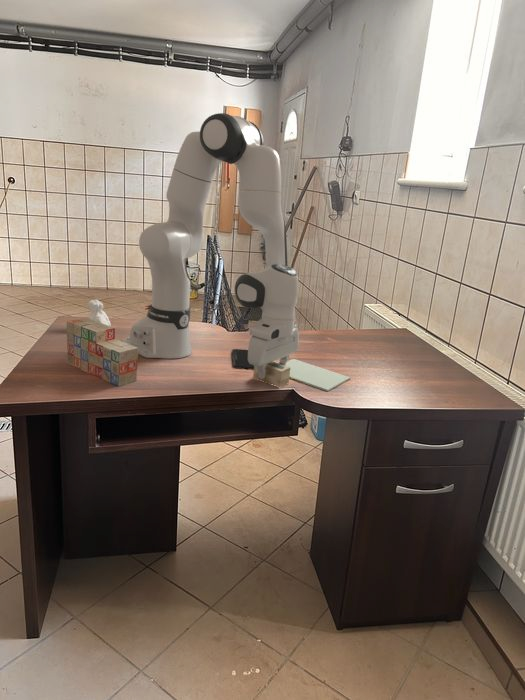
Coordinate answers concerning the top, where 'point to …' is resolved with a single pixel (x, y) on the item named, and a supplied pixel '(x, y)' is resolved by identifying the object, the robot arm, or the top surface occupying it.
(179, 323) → the robot arm
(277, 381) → the maple block
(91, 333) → the stack of blocks
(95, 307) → the bust
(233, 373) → the top surface
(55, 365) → the top surface
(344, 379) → the rubber mat
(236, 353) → the phone
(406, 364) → the top surface
